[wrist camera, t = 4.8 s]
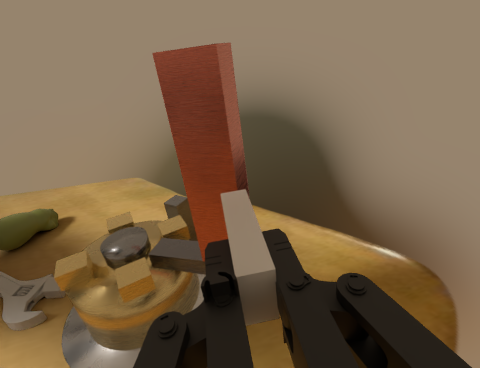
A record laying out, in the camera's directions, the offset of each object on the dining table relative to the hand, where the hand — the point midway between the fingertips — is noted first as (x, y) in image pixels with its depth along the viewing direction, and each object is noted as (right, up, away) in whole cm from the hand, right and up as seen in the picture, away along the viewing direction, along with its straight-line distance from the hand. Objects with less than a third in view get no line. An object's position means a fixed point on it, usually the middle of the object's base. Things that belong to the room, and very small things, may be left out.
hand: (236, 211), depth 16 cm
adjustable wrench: (-32, -12, +21) cm, 40 cm away
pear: (-36, -8, +31) cm, 48 cm away
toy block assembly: (-7, -11, +13) cm, 18 cm away
